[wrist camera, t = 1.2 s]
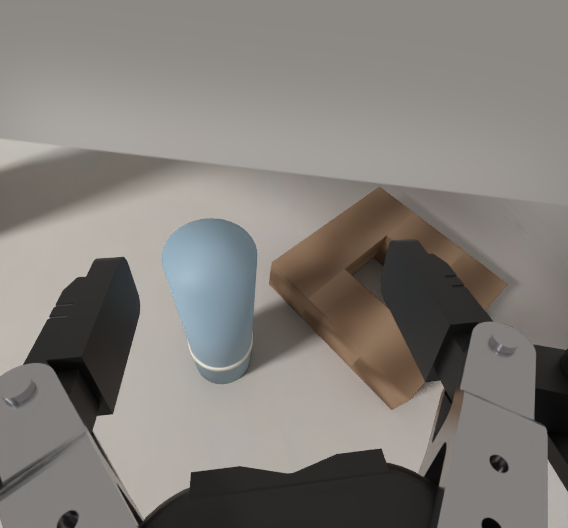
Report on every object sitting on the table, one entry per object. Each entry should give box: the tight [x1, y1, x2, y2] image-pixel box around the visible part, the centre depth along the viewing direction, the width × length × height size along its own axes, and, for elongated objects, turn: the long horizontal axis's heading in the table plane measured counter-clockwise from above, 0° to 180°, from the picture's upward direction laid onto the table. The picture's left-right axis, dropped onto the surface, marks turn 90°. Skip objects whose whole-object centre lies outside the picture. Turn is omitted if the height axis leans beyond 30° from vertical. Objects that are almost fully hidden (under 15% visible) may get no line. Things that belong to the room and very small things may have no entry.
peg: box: [162, 218, 257, 384], centre depth 25 cm, size 5×5×16 cm
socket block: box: [269, 187, 507, 410], centre depth 35 cm, size 16×16×4 cm
